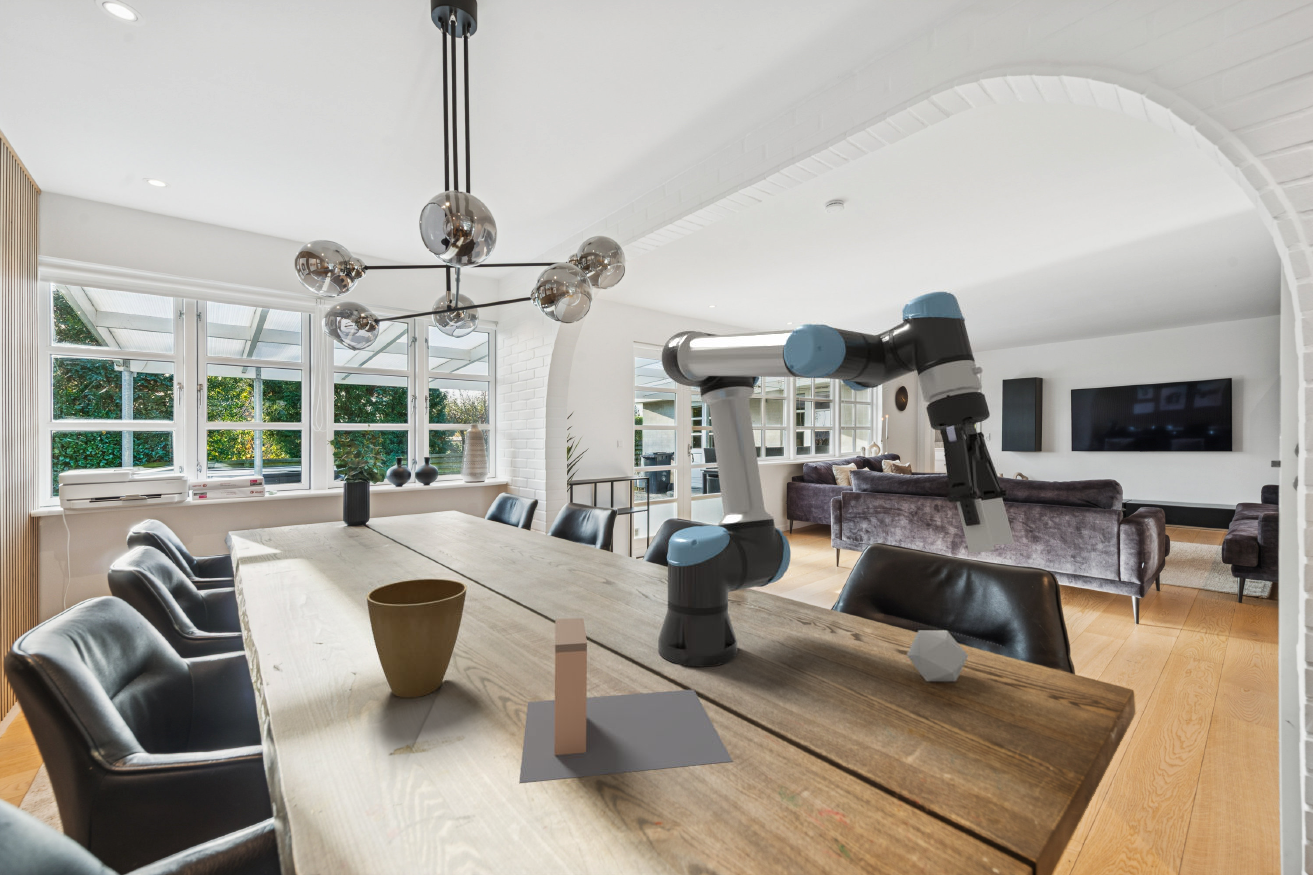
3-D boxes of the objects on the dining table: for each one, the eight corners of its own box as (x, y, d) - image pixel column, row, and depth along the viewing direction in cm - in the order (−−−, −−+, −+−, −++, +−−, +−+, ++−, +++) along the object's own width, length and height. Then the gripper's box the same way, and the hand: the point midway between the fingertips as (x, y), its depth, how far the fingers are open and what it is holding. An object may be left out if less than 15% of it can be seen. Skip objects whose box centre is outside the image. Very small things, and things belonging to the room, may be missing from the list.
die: (963, 697, 89) (983, 643, 92) (913, 667, 91) (935, 615, 94) (938, 693, 97) (957, 644, 100) (892, 666, 98) (913, 617, 101)
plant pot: (343, 700, 85) (344, 597, 85) (415, 663, 99) (416, 575, 99) (419, 718, 80) (420, 608, 80) (484, 676, 94) (485, 583, 94)
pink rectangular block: (554, 715, 80) (555, 619, 80) (582, 713, 80) (583, 617, 80) (554, 755, 70) (555, 644, 70) (586, 752, 71) (586, 642, 71)
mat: (528, 705, 84) (528, 701, 84) (693, 693, 89) (693, 689, 89) (519, 787, 64) (519, 782, 64) (732, 765, 69) (732, 761, 69)
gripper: (959, 376, 67) (1007, 552, 63) (1000, 401, 86) (1039, 538, 81) (897, 394, 72) (937, 558, 67) (949, 414, 91) (983, 544, 86)
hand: (993, 547), depth 74 cm, fingers open, 13 cm apart
